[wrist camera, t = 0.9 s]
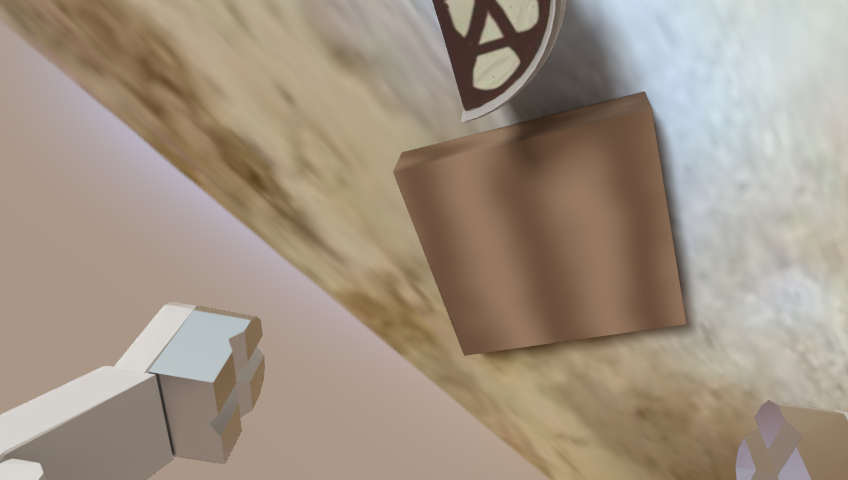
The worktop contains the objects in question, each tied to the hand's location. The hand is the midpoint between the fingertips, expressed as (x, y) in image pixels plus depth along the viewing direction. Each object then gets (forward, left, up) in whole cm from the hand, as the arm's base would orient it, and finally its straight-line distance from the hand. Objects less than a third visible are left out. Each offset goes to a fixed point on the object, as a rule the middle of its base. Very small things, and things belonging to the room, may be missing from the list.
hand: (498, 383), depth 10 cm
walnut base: (+3, +15, -31) cm, 35 cm away
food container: (+1, -3, -31) cm, 32 cm away
